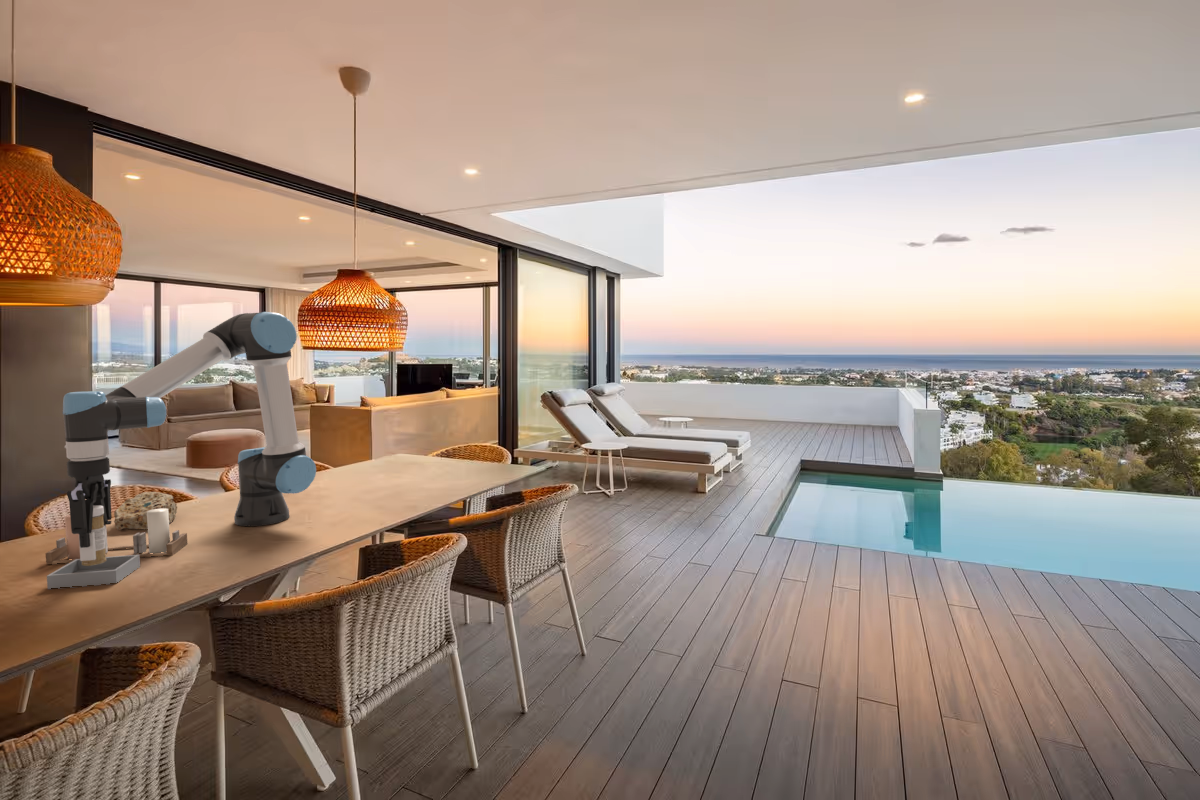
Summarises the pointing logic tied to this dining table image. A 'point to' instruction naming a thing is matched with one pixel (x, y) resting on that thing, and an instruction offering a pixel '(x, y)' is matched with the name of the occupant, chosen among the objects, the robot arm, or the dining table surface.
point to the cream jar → (158, 530)
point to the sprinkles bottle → (98, 536)
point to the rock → (143, 509)
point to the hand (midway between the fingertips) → (94, 556)
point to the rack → (121, 547)
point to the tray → (93, 572)
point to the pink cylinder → (72, 540)
